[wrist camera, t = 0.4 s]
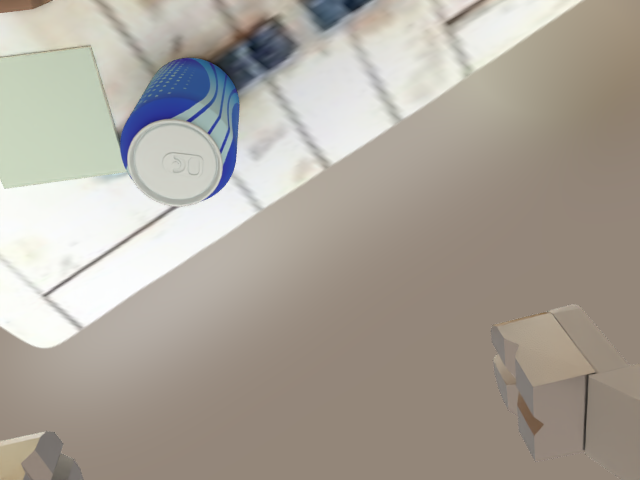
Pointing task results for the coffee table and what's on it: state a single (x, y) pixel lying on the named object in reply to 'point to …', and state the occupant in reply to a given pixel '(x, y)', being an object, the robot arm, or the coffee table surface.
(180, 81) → the beer can
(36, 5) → the walnut block
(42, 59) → the sage tile
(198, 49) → the coffee table surface
